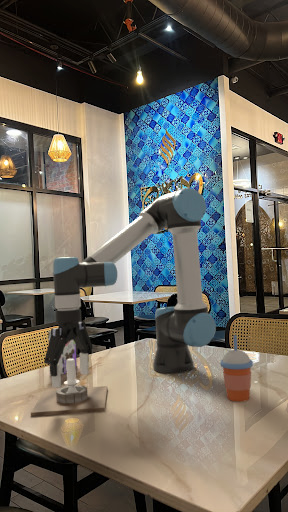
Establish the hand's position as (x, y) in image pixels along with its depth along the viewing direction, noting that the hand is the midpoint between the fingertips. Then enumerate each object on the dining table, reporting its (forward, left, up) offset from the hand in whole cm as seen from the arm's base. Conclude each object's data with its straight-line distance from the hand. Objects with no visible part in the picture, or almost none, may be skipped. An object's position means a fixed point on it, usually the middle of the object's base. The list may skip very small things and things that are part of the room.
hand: (71, 380), depth 123 cm
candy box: (+8, -39, -7) cm, 40 cm away
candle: (0, 0, -5) cm, 5 cm away
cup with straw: (-48, +7, -6) cm, 49 cm away
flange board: (0, 0, -6) cm, 6 cm away
